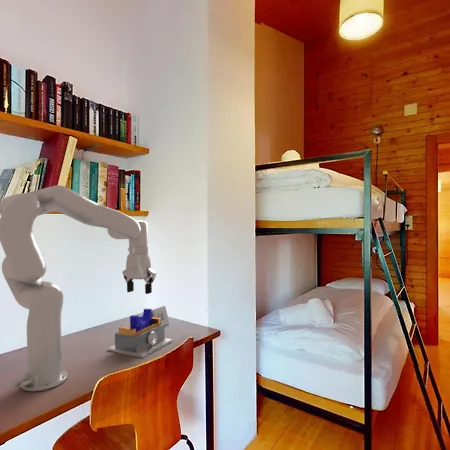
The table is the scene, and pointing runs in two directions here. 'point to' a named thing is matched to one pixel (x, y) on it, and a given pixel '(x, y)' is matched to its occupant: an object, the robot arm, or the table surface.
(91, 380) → the table surface
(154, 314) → the electrical switch
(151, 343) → the motor housing
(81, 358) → the table surface
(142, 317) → the blue u-shaped block
